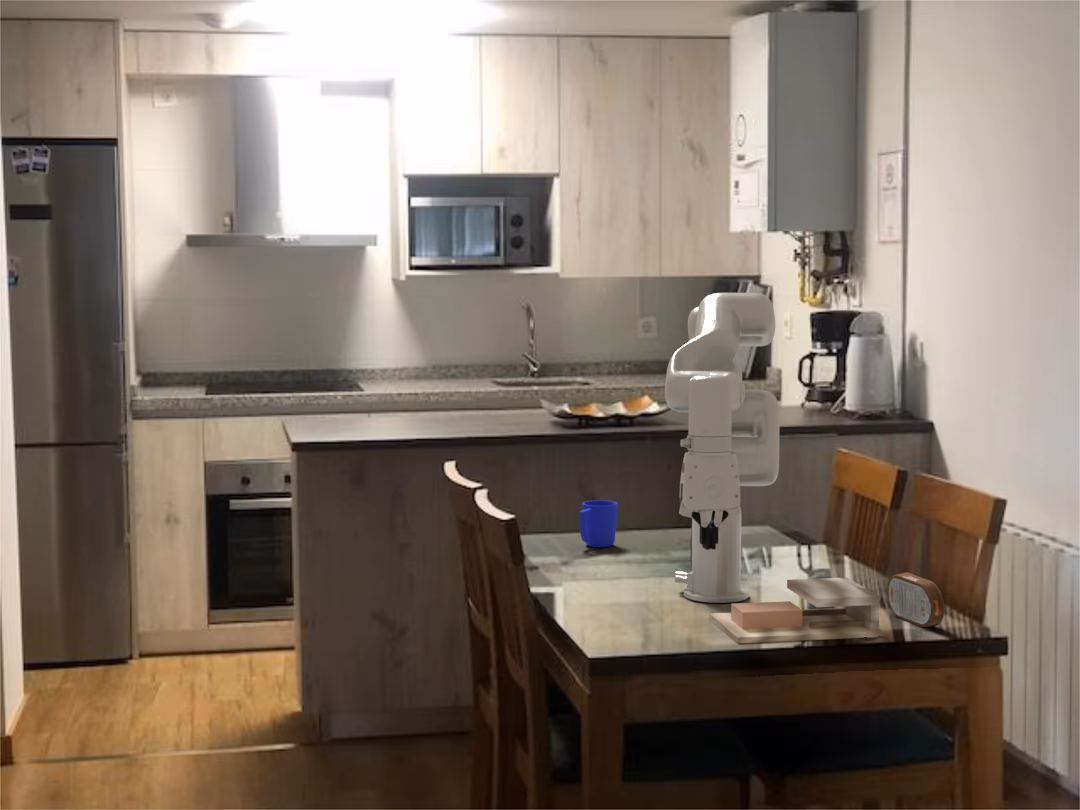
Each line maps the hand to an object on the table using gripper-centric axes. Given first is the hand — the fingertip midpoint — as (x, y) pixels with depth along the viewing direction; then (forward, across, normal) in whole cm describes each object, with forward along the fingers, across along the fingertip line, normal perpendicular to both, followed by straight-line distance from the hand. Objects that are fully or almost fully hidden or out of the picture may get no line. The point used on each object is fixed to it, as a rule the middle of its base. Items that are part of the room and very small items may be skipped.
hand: (708, 548), depth 267 cm
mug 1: (+15, -3, +82) cm, 83 cm away
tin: (+15, +39, 0) cm, 42 cm away
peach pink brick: (+14, +11, 0) cm, 18 cm away
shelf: (+15, +16, 0) cm, 22 cm away
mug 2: (+15, +15, +51) cm, 55 cm away
